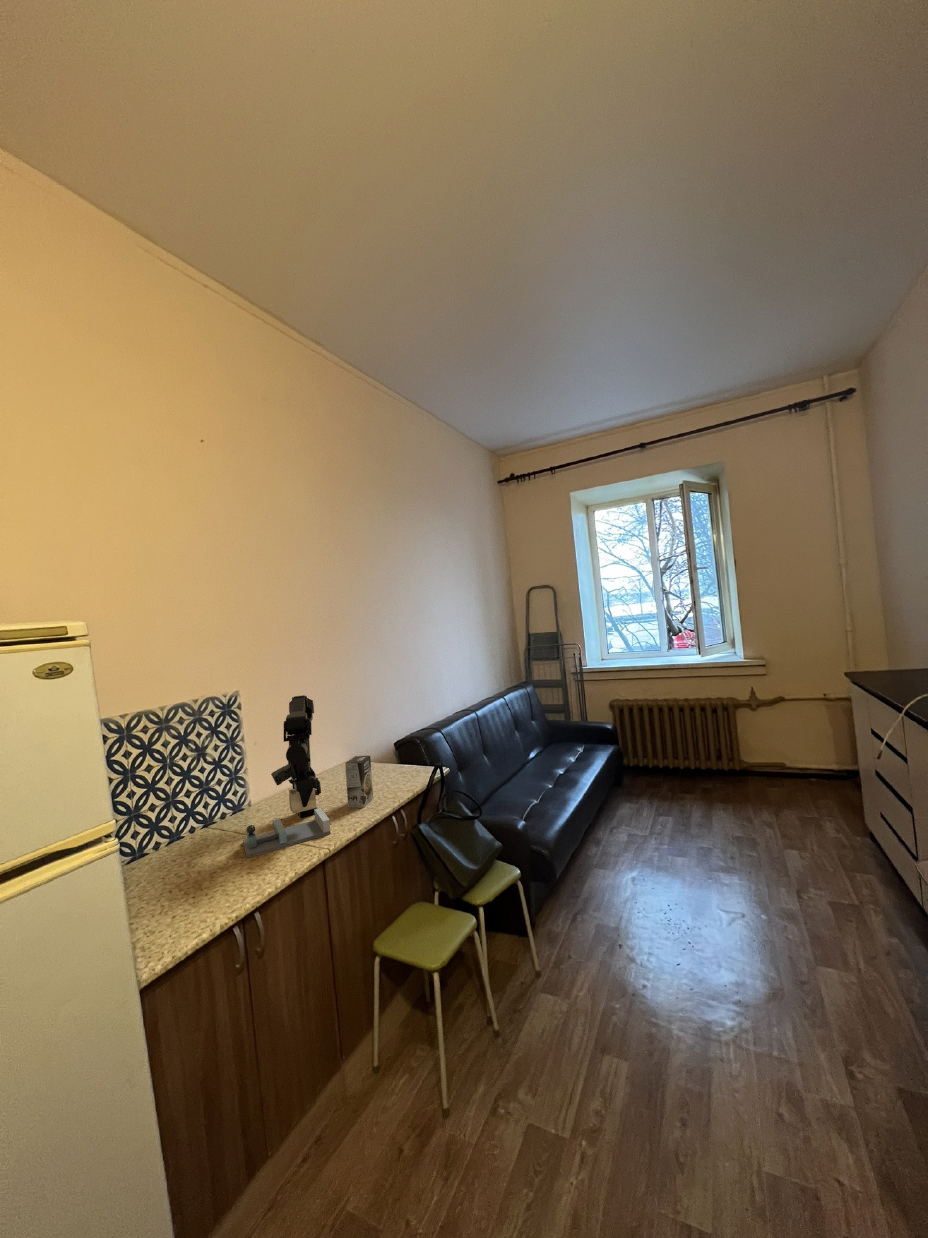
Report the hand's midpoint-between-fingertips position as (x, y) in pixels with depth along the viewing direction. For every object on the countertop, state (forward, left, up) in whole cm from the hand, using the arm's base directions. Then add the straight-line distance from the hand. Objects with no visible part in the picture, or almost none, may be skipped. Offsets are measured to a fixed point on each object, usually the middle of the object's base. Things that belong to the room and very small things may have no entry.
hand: (303, 804), depth 152 cm
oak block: (0, 0, -1) cm, 1 cm away
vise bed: (0, -6, -9) cm, 11 cm away
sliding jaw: (0, -12, -8) cm, 14 cm away
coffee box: (-13, +22, -9) cm, 28 cm away
